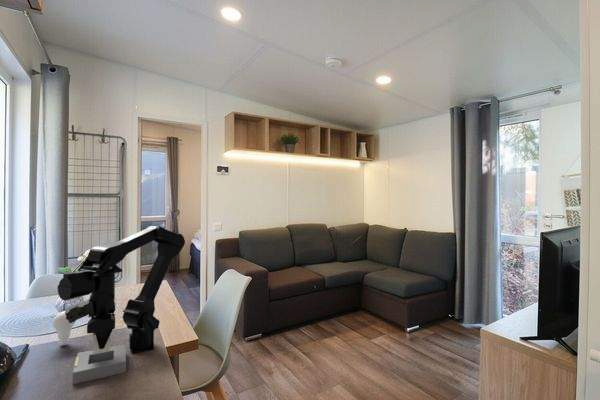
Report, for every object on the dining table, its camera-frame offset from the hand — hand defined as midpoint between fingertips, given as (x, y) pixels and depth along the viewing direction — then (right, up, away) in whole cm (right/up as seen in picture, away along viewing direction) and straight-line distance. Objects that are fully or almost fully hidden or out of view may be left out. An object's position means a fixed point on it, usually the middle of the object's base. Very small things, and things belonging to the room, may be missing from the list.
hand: (102, 345), depth 88 cm
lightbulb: (-21, -6, +13) cm, 25 cm away
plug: (0, -1, 0) cm, 1 cm away
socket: (0, -6, 0) cm, 6 cm away
